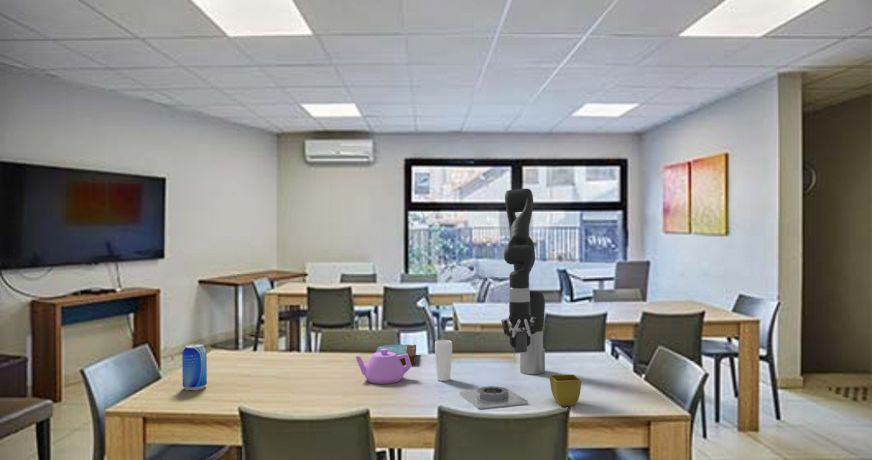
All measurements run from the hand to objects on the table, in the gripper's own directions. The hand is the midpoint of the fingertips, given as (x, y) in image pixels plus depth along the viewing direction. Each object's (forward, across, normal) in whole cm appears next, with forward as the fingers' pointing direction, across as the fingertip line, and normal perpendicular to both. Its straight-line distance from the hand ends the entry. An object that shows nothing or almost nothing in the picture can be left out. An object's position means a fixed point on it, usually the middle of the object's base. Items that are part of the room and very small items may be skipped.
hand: (520, 346), depth 220 cm
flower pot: (+17, -7, +19) cm, 26 cm away
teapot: (+16, +43, -32) cm, 56 cm away
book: (+17, +30, -64) cm, 73 cm away
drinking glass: (+16, +21, -24) cm, 36 cm away
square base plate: (+16, +14, +6) cm, 22 cm away
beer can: (+15, +113, -44) cm, 122 cm away
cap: (+2, 0, 0) cm, 2 cm away
